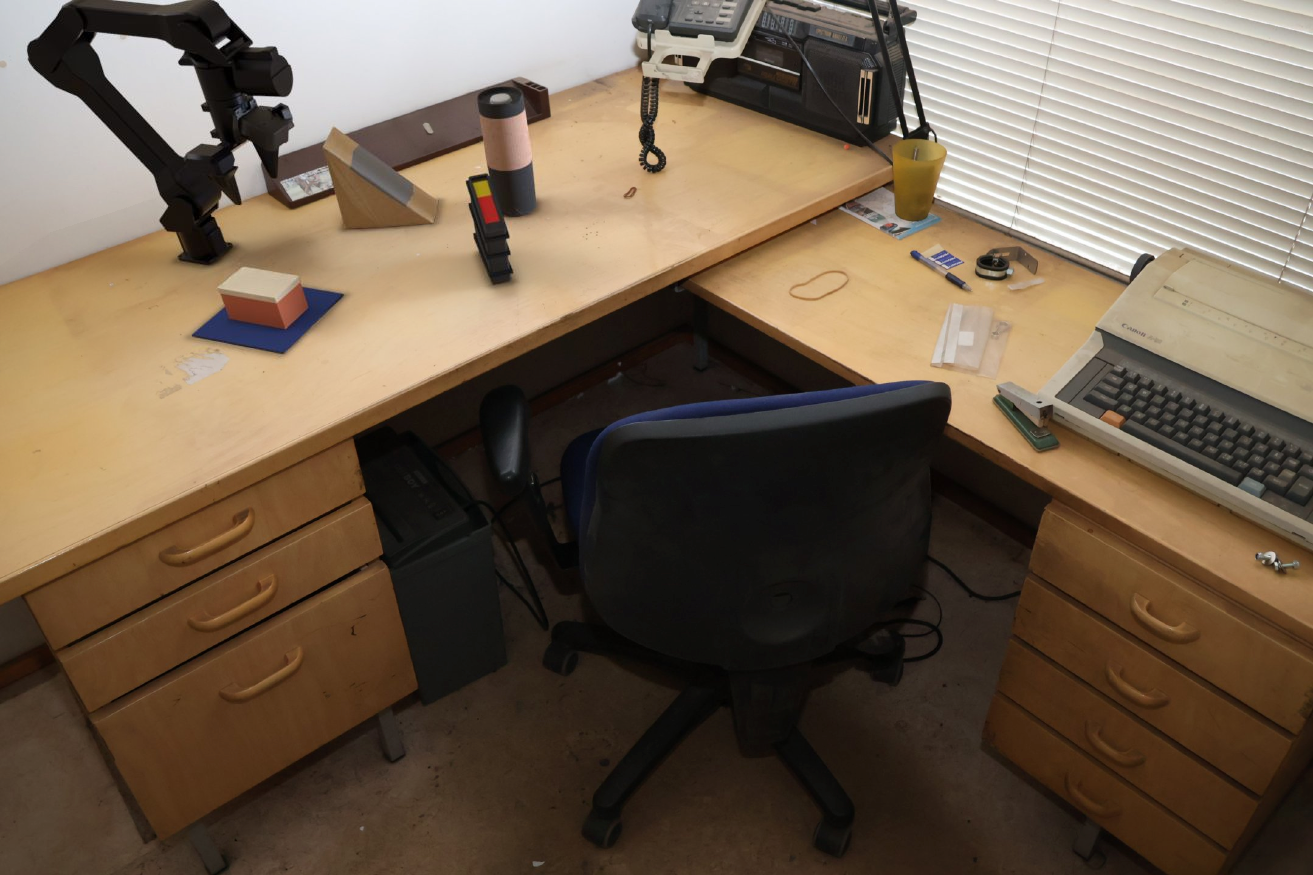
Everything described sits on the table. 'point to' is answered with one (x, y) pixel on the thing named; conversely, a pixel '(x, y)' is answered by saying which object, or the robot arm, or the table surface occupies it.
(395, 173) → the sandwich container
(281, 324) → the box
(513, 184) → the travel mug
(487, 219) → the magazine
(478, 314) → the table surface
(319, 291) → the blue cloth
